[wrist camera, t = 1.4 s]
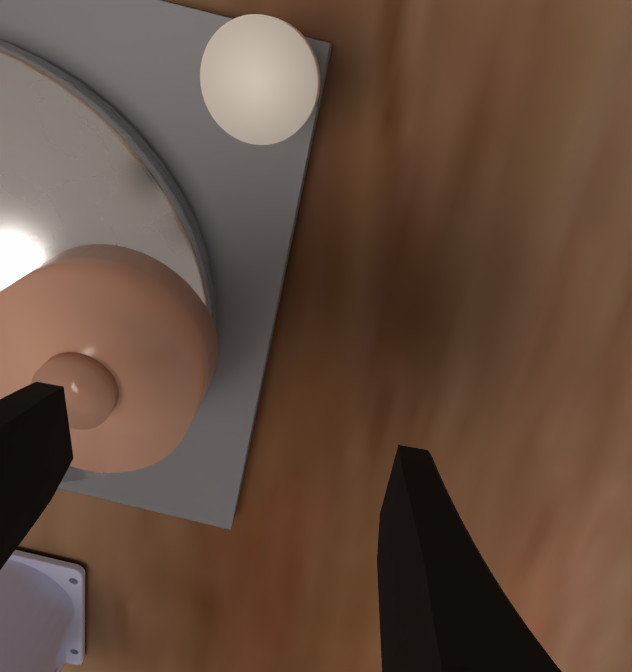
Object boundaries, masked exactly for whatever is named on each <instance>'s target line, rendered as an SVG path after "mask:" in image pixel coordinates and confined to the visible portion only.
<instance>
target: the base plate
mask: <svg viewBox="0 0 632 672" xmlns="http://www.w3.org/2000/svg"><path fill="white" fill-rule="evenodd" d="M0 40H1V41H4V42H7V43H10V44H12V45H14V46H16V47H19V48H21V49H23V50H25V51H27V52H29V53H31V54H33V55H36V56H38V57H40V58H42V59H44V60H46V61H48V62H49V63H51V64H53V65H54V66H56V67H57V68H59V69H61V70H62V71H64V72H65V73H67V74H69V75H70V76H72V77H73V78H75V79H77V80H78V81H80V82H81V83H82V84H84V85H85V86H86V87H87V88H89V89H90V90H91V91H92V92H94V93H95V94H96V95H97V96H99V97H100V98H101V99H102V100H104V101H105V102H106V103H108V104H109V105H110V106H111V107H112V108H113V109H114V110H115V111H116V112H117V113H118V114H119V115H120V116H121V117H122V118H123V119H124V120H125V121H126V122H127V123H128V124H129V125H131V126H132V127H133V128H134V129H135V130H136V131H137V132H138V133H139V134H140V136H141V137H142V138H143V139H144V141H145V142H146V143H147V144H148V146H149V147H150V148H151V149H152V150H153V152H154V153H155V154H156V155H157V157H158V158H159V159H160V160H161V162H162V163H163V164H164V166H165V167H166V169H167V170H168V172H169V173H170V175H171V177H172V178H173V180H174V181H175V183H176V184H177V186H178V187H179V189H180V191H181V192H182V194H183V196H184V198H185V200H186V202H187V204H188V206H189V208H190V210H191V212H192V214H193V216H194V218H195V220H196V222H197V224H198V226H199V229H200V232H201V235H202V238H203V241H204V243H205V246H206V249H207V252H208V255H209V259H210V264H211V268H212V273H213V278H214V282H215V291H216V304H217V323H216V333H217V338H218V348H219V355H218V364H217V368H216V373H215V375H214V377H213V380H212V382H211V384H210V386H209V388H208V390H207V392H206V394H205V396H204V398H203V400H202V402H201V404H200V406H199V408H198V410H197V412H196V414H195V416H194V418H193V420H192V423H191V425H190V427H189V429H188V431H187V433H186V435H185V436H184V438H183V439H182V441H181V443H180V444H179V445H178V446H177V447H176V448H175V449H174V451H173V452H171V453H170V454H169V455H168V456H166V457H165V458H164V459H162V460H160V461H159V462H157V463H155V464H153V465H150V466H148V467H145V468H142V469H138V470H134V471H129V472H121V473H109V474H106V475H102V476H98V477H94V478H90V479H85V480H77V481H69V482H61V483H60V485H59V486H58V489H62V490H66V491H70V492H74V493H79V494H83V495H87V496H91V497H95V498H100V499H104V500H108V501H112V502H116V503H121V504H125V505H129V506H133V507H137V508H142V509H146V510H150V511H154V512H158V513H163V514H167V515H171V516H175V517H179V518H184V519H188V520H192V521H196V522H200V523H205V524H209V525H213V526H217V527H221V528H225V529H230V530H231V528H232V524H233V521H234V518H235V515H236V510H237V505H238V501H239V496H240V491H241V486H242V481H243V476H244V471H245V467H246V462H247V457H248V452H249V447H250V442H251V437H252V433H253V428H254V423H255V418H256V413H257V408H258V404H259V399H260V394H261V389H262V384H263V379H264V374H265V370H266V365H267V360H268V355H269V350H270V345H271V340H272V336H273V331H274V326H275V321H276V316H277V311H278V307H279V302H280V297H281V292H282V287H283V282H284V277H285V273H286V268H287V263H288V258H289V253H290V248H291V243H292V239H293V234H294V229H295V224H296V219H297V214H298V210H299V205H300V200H301V195H302V190H303V185H304V180H305V176H306V171H307V166H308V161H309V156H310V151H311V146H312V142H313V137H314V132H315V127H316V122H317V117H318V113H319V108H320V103H321V98H322V93H323V88H324V83H325V79H326V74H327V69H328V64H329V59H330V54H331V50H332V45H333V43H329V42H325V41H321V40H317V39H313V38H309V37H305V36H303V34H302V33H301V32H300V31H298V30H297V29H296V28H295V27H294V26H292V25H291V24H289V23H287V22H285V21H283V20H281V19H278V18H275V17H271V16H267V15H261V14H249V15H243V16H240V17H237V18H230V17H226V16H222V15H218V14H214V13H210V12H206V11H202V10H198V9H195V8H191V7H187V6H183V5H179V4H175V3H171V2H167V1H163V0H0Z"/></svg>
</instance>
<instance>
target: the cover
mask: <svg viewBox="0 0 632 672" xmlns="http://www.w3.org/2000/svg"><path fill="white" fill-rule="evenodd" d="M218 355H219V348H218V338H217V333H216V329H215V326H214V323H213V320H212V318H211V315H210V314H209V312H208V310H207V308H206V306H205V304H204V303H203V302H202V300H201V299H200V297H199V296H198V294H197V293H196V292H195V291H194V290H193V288H192V287H191V286H190V285H189V284H188V283H187V282H186V281H185V280H184V279H183V278H182V277H181V276H180V275H178V274H177V273H176V272H175V271H173V270H172V269H171V268H169V267H168V266H167V265H165V264H163V263H162V262H160V261H158V260H156V259H155V258H153V257H151V256H148V255H146V254H144V253H142V252H139V251H136V250H133V249H130V248H126V247H121V246H116V245H108V244H91V245H83V246H78V247H74V248H71V249H68V250H65V251H63V252H61V253H59V254H57V255H56V256H54V257H52V258H51V259H49V260H47V261H46V262H44V263H43V264H41V265H40V266H38V267H37V268H35V269H34V270H32V271H31V272H29V273H28V274H26V275H25V276H23V277H22V278H20V279H18V280H17V281H15V282H14V283H12V284H11V285H9V286H8V287H6V288H5V289H3V290H2V291H0V399H2V398H4V397H6V396H8V395H9V394H11V393H13V392H15V391H17V390H19V389H21V388H24V387H26V386H28V385H30V384H32V383H34V382H41V383H47V384H52V385H58V386H64V393H65V400H66V407H67V415H68V422H69V429H70V436H71V444H72V451H73V460H72V462H71V464H70V466H72V467H75V468H79V469H83V470H88V471H93V472H104V473H121V472H129V471H134V470H138V469H142V468H145V467H148V466H150V465H153V464H155V463H157V462H159V461H160V460H162V459H164V458H165V457H166V456H168V455H169V454H170V453H171V452H173V451H174V449H175V448H176V447H177V446H178V445H179V444H180V443H181V441H182V439H183V438H184V436H185V435H186V433H187V431H188V429H189V427H190V425H191V423H192V420H193V418H194V416H195V414H196V412H197V410H198V408H199V406H200V404H201V402H202V400H203V398H204V396H205V394H206V392H207V390H208V388H209V386H210V384H211V382H212V380H213V377H214V375H215V373H216V368H217V364H218Z"/></svg>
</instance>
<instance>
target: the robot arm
mask: <svg viewBox="0 0 632 672" xmlns="http://www.w3.org/2000/svg"><path fill="white" fill-rule="evenodd" d="M72 460H73V451H72V444H71V436H70V429H69V422H68V415H67V407H66V400H65V393H64V386H58V385H52V384H47V383H41V382H34V383H32V384H30V385H28V386H26V387H24V388H21V389H19V390H17V391H15V392H13V393H11V394H9V395H8V396H6V397H4V398H2V399H0V672H61V670H62V668H63V666H64V664H65V663H70V664H74V665H80V664H81V663H82V662H83V660H84V658H85V570H84V568H83V567H82V566H80V565H78V564H74V563H70V562H66V561H62V560H57V559H53V558H49V557H45V556H40V555H36V554H32V553H28V552H23V551H19V550H15V549H16V548H17V547H18V545H19V544H20V543H21V541H22V540H23V538H24V537H25V536H26V534H27V533H28V532H29V530H30V529H31V527H32V526H33V525H34V523H35V522H36V520H37V519H38V518H39V516H40V515H41V513H42V512H43V511H44V509H45V508H46V506H47V505H48V503H49V502H50V501H51V499H52V497H53V495H54V494H55V492H56V490H57V488H58V486H59V485H60V483H61V481H62V479H63V477H64V475H65V473H66V472H67V470H68V468H69V466H70V464H71V462H72ZM377 568H378V591H379V613H380V634H381V655H382V672H562V671H561V670H560V669H559V668H558V667H557V665H556V664H555V663H554V662H553V660H552V659H551V658H550V656H549V655H548V654H547V652H546V651H545V650H544V649H543V647H542V646H541V645H540V643H539V642H538V641H537V639H536V638H535V637H534V635H533V634H532V633H531V631H530V630H529V628H528V627H527V625H526V624H525V623H524V621H523V620H522V618H521V617H520V616H519V614H518V613H517V611H516V610H515V608H514V607H513V605H512V604H511V602H510V601H509V599H508V598H507V596H506V595H505V593H504V592H503V590H502V589H501V587H500V586H499V584H498V583H497V581H496V579H495V578H494V576H493V574H492V573H491V571H490V569H489V568H488V566H487V565H486V563H485V561H484V560H483V558H482V556H481V554H480V553H479V551H478V549H477V547H476V546H475V544H474V542H473V540H472V538H471V537H470V535H469V533H468V531H467V529H466V527H465V525H464V524H463V522H462V520H461V518H460V516H459V514H458V512H457V510H456V508H455V506H454V504H453V502H452V500H451V498H450V496H449V494H448V492H447V490H446V488H445V485H444V483H443V481H442V479H441V477H440V474H439V472H438V470H437V467H436V465H435V463H434V460H433V458H432V456H431V454H430V453H429V451H428V450H423V449H418V448H412V447H406V446H401V445H398V449H397V453H396V456H395V460H394V464H393V468H392V471H391V475H390V479H389V482H388V486H387V490H386V494H385V497H384V501H383V505H382V508H381V512H380V523H379V538H378V555H377Z"/></svg>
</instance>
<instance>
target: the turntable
mask: <svg viewBox="0 0 632 672" xmlns="http://www.w3.org/2000/svg"><path fill="white" fill-rule="evenodd" d="M91 244H108V245H116V246H121V247H126V248H130V249H133V250H136V251H139V252H142V253H144V254H146V255H148V256H151V257H153V258H155V259H156V260H158V261H160V262H162V263H163V264H165V265H167V266H168V267H169V268H171V269H172V270H173V271H175V272H176V273H177V274H178V275H180V276H181V277H182V278H183V279H184V280H185V281H186V282H187V283H188V284H189V285H190V286H191V287H192V288H193V290H194V291H195V292H196V293H197V294H198V296H199V297H200V299H201V300H202V302H203V303H204V304H205V306H206V308H207V310H208V312H209V314H210V315H211V318H212V320H213V323H214V326H215V329H216V323H217V304H216V291H215V282H214V278H213V273H212V268H211V264H210V259H209V255H208V252H207V249H206V246H205V243H204V241H203V238H202V235H201V232H200V229H199V226H198V224H197V222H196V220H195V218H194V216H193V214H192V212H191V210H190V208H189V206H188V204H187V202H186V200H185V198H184V196H183V194H182V192H181V191H180V189H179V187H178V186H177V184H176V183H175V181H174V180H173V178H172V177H171V175H170V173H169V172H168V170H167V169H166V167H165V166H164V164H163V163H162V162H161V160H160V159H159V158H158V157H157V155H156V154H155V153H154V152H153V150H152V149H151V148H150V147H149V146H148V144H147V143H146V142H145V141H144V139H143V138H142V137H141V136H140V134H139V133H138V132H137V131H136V130H135V129H134V128H133V127H132V126H131V125H129V124H128V123H127V122H126V121H125V120H124V119H123V118H122V117H121V116H120V115H119V114H118V113H117V112H116V111H115V110H114V109H113V108H112V107H111V106H110V105H109V104H108V103H106V102H105V101H104V100H102V99H101V98H100V97H99V96H97V95H96V94H95V93H94V92H92V91H91V90H90V89H89V88H87V87H86V86H85V85H84V84H82V83H81V82H80V81H78V80H77V79H75V78H73V77H72V76H70V75H69V74H67V73H65V72H64V71H62V70H61V69H59V68H57V67H56V66H54V65H53V64H51V63H49V62H48V61H46V60H44V59H42V58H40V57H38V56H36V55H33V54H31V53H29V52H27V51H25V50H23V49H21V48H19V47H16V46H14V45H12V44H10V43H7V42H4V41H1V40H0V291H2V290H3V289H5V288H6V287H8V286H9V285H11V284H12V283H14V282H15V281H17V280H18V279H20V278H22V277H23V276H25V275H26V274H28V273H29V272H31V271H32V270H34V269H35V268H37V267H38V266H40V265H41V264H43V263H44V262H46V261H47V260H49V259H51V258H52V257H54V256H56V255H57V254H59V253H61V252H63V251H65V250H68V249H71V248H74V247H78V246H83V245H91ZM106 474H109V473H104V472H93V471H88V470H83V469H79V468H75V467H72V466H69V468H68V470H67V472H66V473H65V475H64V477H63V479H62V481H61V482H69V481H77V480H85V479H90V478H94V477H98V476H102V475H106Z"/></svg>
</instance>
